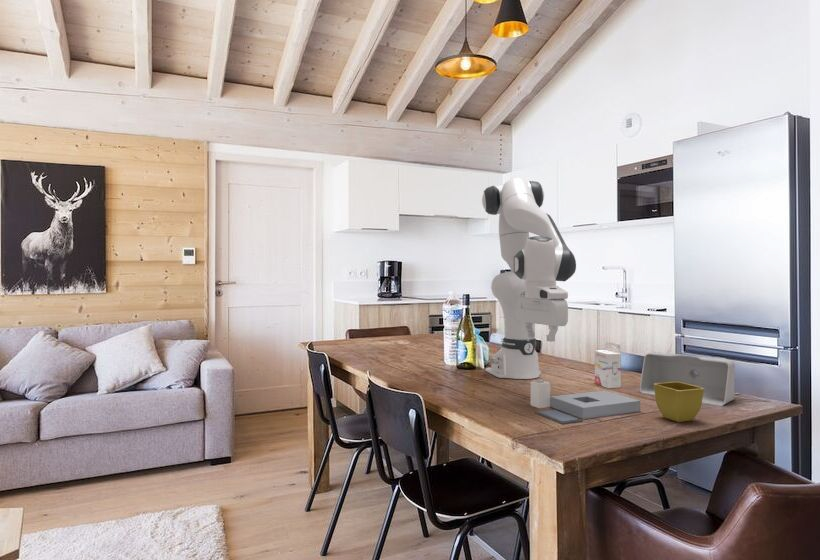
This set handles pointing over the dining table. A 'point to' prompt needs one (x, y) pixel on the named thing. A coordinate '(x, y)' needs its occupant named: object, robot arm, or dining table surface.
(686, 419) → the flower pot
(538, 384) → the block
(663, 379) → the tank
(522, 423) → the dining table surface
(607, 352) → the ink cartridge box
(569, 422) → the phone slab
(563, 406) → the outlet board
